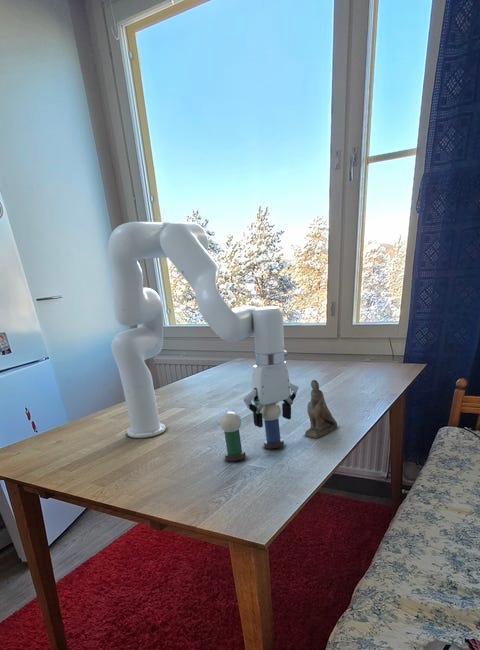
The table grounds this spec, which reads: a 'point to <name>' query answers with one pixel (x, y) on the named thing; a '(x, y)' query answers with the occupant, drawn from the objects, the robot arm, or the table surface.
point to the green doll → (232, 436)
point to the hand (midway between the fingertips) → (272, 422)
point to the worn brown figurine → (319, 414)
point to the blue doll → (272, 425)
